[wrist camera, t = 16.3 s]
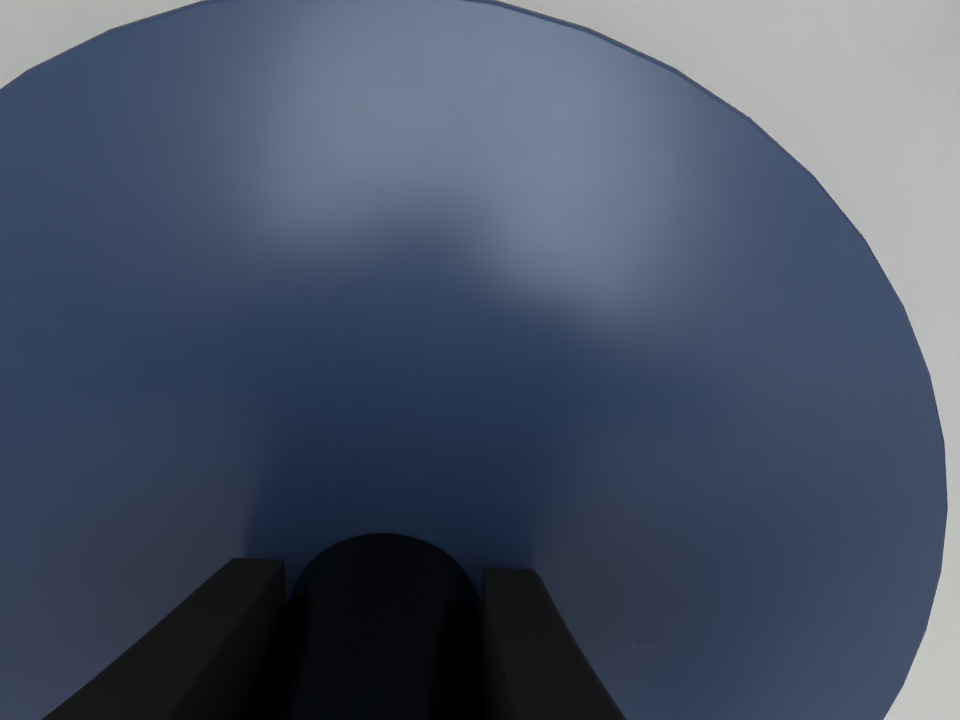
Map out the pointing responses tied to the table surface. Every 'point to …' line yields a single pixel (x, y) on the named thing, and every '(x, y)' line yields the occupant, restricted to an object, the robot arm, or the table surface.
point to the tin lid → (447, 368)
